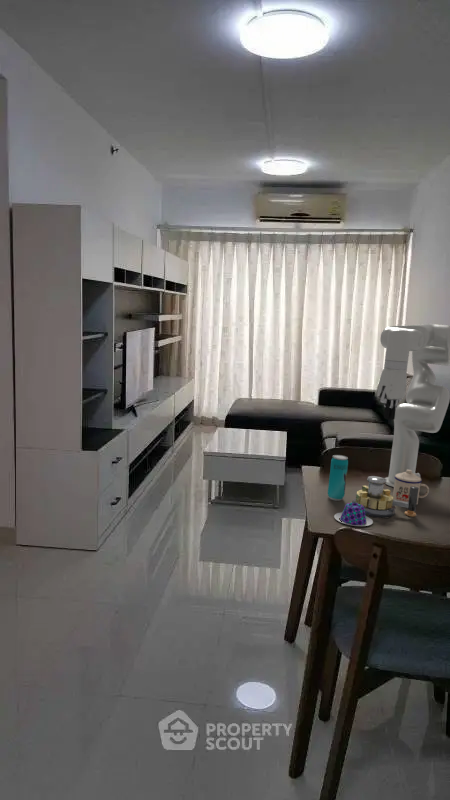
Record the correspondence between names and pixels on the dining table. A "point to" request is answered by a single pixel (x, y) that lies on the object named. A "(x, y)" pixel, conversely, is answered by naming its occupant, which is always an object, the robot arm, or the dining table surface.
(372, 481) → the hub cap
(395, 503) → the segmented ring with handle
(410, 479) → the teacup with lid
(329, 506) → the dining table surface
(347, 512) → the pudding
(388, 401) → the robot arm
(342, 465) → the beverage can
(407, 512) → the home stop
